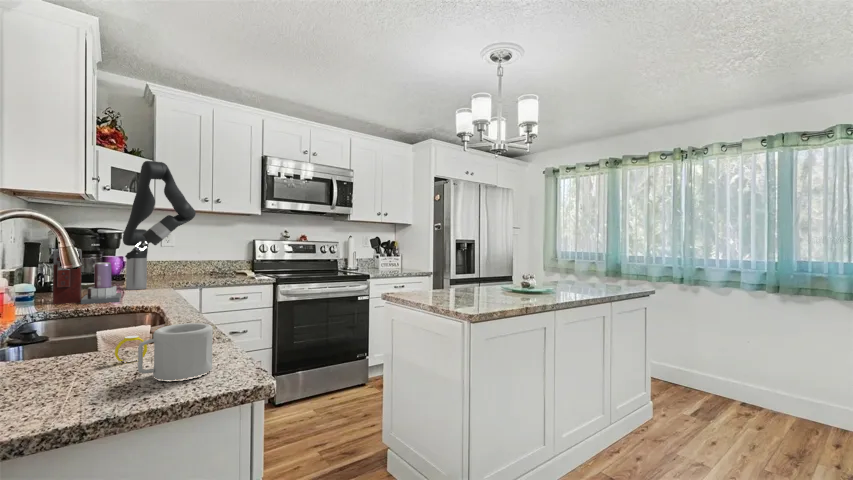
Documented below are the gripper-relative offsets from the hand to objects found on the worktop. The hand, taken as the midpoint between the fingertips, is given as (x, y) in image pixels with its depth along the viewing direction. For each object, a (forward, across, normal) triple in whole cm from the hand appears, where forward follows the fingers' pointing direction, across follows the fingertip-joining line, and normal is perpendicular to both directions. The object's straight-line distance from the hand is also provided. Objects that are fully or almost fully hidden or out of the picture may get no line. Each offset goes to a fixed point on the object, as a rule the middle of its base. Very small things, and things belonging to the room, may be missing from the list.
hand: (127, 257), depth 184 cm
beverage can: (+18, 0, +6) cm, 19 cm away
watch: (+10, +116, +17) cm, 118 cm away
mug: (+5, +133, +23) cm, 135 cm away
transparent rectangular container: (+20, 0, +7) cm, 21 cm away
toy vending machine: (+28, 0, -1) cm, 28 cm away
